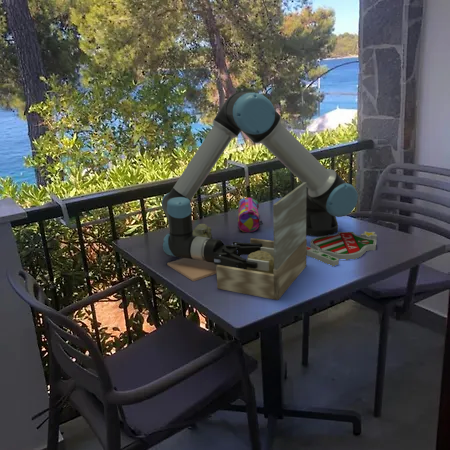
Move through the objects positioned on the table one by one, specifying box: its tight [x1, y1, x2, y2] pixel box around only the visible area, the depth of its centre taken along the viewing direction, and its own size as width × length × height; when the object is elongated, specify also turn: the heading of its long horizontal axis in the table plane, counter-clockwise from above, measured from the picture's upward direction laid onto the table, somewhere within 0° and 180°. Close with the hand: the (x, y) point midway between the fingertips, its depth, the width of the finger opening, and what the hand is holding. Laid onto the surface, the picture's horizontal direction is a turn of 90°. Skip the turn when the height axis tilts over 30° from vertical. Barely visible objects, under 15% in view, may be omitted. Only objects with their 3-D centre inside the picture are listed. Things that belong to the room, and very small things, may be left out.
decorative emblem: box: [307, 230, 378, 267], centre depth 162 cm, size 19×2×30 cm
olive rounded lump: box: [246, 250, 274, 274], centre depth 142 cm, size 9×10×10 cm
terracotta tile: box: [166, 258, 223, 282], centre depth 152 cm, size 16×16×1 cm
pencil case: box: [237, 196, 264, 233], centre depth 188 cm, size 22×9×9 cm, turn 0°
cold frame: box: [216, 182, 308, 301], centre depth 138 cm, size 19×24×27 cm
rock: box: [193, 223, 213, 239], centre depth 172 cm, size 11×6×10 cm
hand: (274, 260), depth 139 cm, fingers closed on olive rounded lump, 9 cm apart
